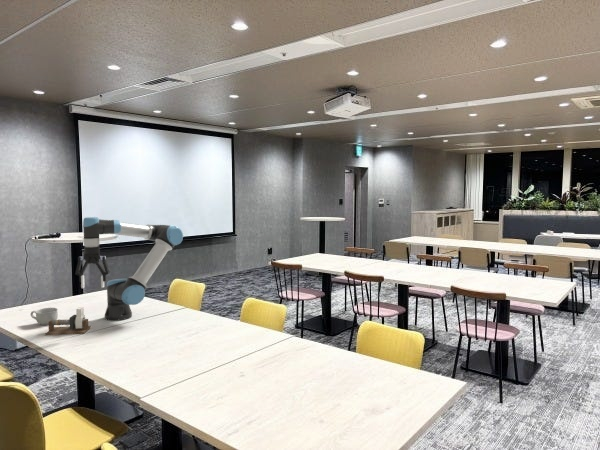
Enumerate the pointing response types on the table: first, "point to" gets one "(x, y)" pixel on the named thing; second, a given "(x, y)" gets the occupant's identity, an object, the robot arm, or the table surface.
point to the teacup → (45, 315)
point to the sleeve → (79, 317)
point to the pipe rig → (66, 330)
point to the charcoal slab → (72, 322)
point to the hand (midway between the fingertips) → (93, 287)
